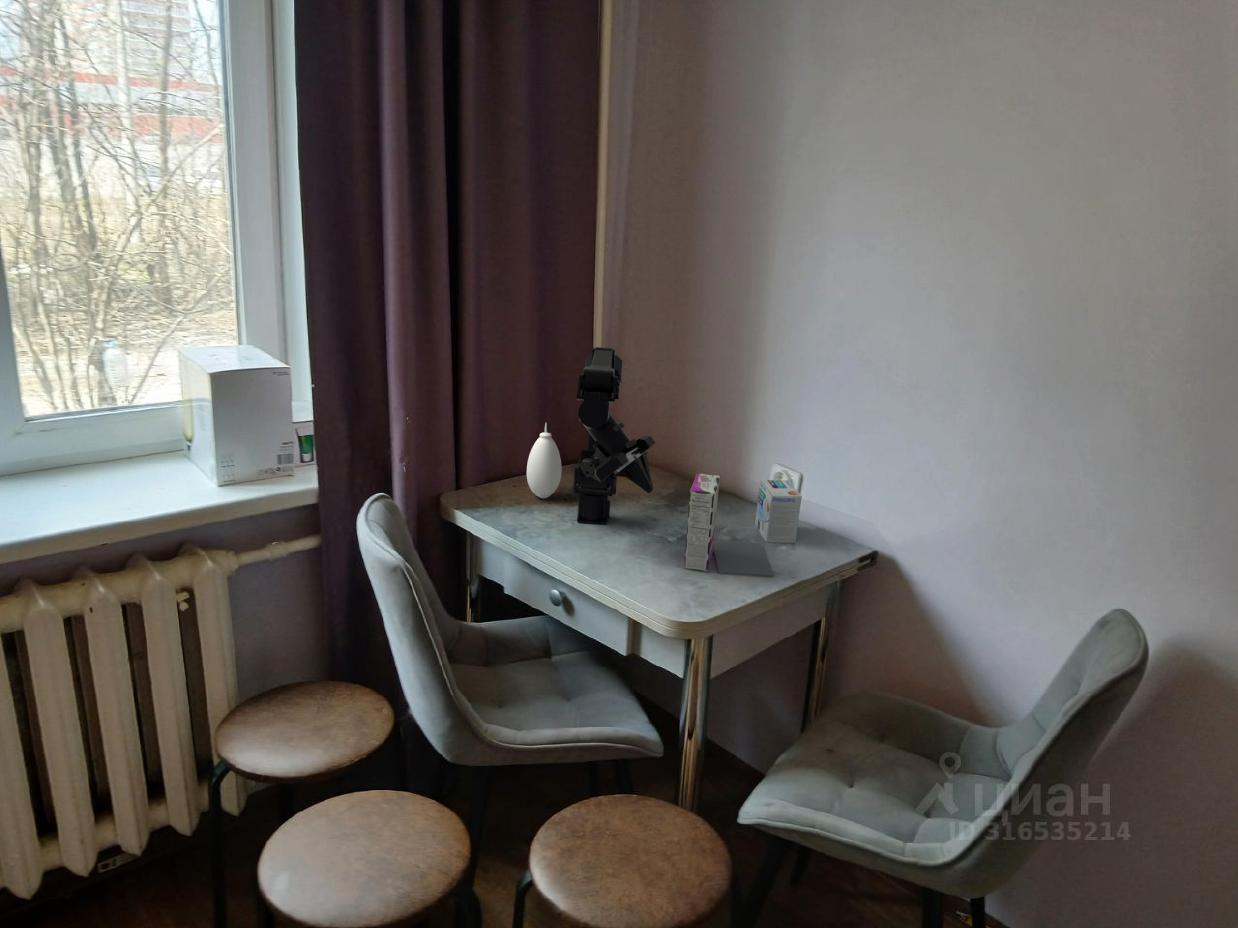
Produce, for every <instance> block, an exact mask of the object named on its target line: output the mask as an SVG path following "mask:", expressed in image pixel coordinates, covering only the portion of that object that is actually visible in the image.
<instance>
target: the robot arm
mask: <svg viewBox="0 0 1238 928" xmlns="http://www.w3.org/2000/svg"><path fill="white" fill-rule="evenodd" d="M623 363H624V362H623V360H622V359H621V358H620V357H619V356H618V355H617V354H616V349H613V347H602V346H596V347H593V348H592V353H591V354H590V355H588V356H587V357H586V359H585V365H584V366H585V367H583V370H582V373H579V376H578V383H577V391H576V396H575V397H576V400H577V401H583V402H581V404H580V405H579V408H578V411H577V412H578V413H577V414H578V420H579V421H580V423H582V425H583V426H584V428H585V429H586V431H588V439H587V441H588V442H587V448H586V449H582V450H581V452H580V454H579V455H580V456H579V457H578V458H579V459H578V466H575V467H574V476H573V477H574V478H573V479H574V480H573V495H577V494H578V509H577V516H576V517H577V518H576V522H577V523H585V524H599V525H607V524H608V520H609V519H610V513H611V512H610V511H611V510H610V509H611V498H612V497H613V496H614V495H616V494H617V485H618V484H617V483H618V480H617V478H618V477H621V478H627V480H629V481H630V482H632V483H634V484H635V485H636V486H638V487H640V488H641V489H642V490H643V491H645V492H646V493H647V494H649V493H652V492H653V490H654V486H653V481H652V476H651V473H650V467H649V466H650V465H649V460H648V455H649V454H648V450H649V449H650V448H651V447H653V446H654V445H655V444H656V441H655V440H654V439H653V438H652V436H651V435H647V434H644V435H642V436H641V437H639V438H638V439H637V440H636V439H635V438H633V439H631V438H629V436H628V435H627V433H626V432H625V431H624V430H623V429H624V428H625V425H624V423H623V422H620V423H618V421H617V420H616V419H615V417H614V416H613V415H612V413H611V412H610V407H611V403H615V404H616V400H619V398H620V388H621V384H622V380H623V365H624V364H623ZM615 471H617V472H615Z"/></svg>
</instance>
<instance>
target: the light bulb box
mask: <svg viewBox="0 0 1238 928" xmlns="http://www.w3.org/2000/svg"><path fill="white" fill-rule="evenodd" d="M758 491H759V492H758V497H757V498H758V499H757V504H756V505H757V507H756V515H755V520H754V524H755V527H756V528H757V530H758V532H759V533H760V535H761V536H762V538H763V540H764V542H765V543H773V544H774V543H775V544H778V543H781V544H796V539H797V532H798V527H799V526H798V525H799V518H800V511H801V510H800V509H801V503H802V498H803V497H802V495H801V493H800V492H799V491H798V490H797V489H796V488H795V485H793V484H792V482H790V480H788V479H787V480H785V479H784V480H782V479H774V480H773V479H760V480H759V490H758Z"/></svg>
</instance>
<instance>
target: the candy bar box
mask: <svg viewBox="0 0 1238 928" xmlns="http://www.w3.org/2000/svg"><path fill="white" fill-rule="evenodd" d="M720 477H721V476H720V475H717V474H716V475H715V474H709V473H708V474H707V473H702V472H701V473H700V472H699V473H696V475H695V478H694V481H693V483H692V485H691V488H690V491H689V503H688V504H689V505H688V513H687V526H686V527H687V528H686V538H685V539H686V540H685V541H686V542H685V549H684V552H685V554H684V564H683V568H684V569H685V570H690V571H700V572H708V571H709V567H710V563H711V560H712V556H713V554H714V551H713V546H714V540H715V535H716V534H715V533H716V524H717V513H718V512H717V511H718V500H719V499H718V498H719V490H720Z"/></svg>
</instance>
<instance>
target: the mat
mask: <svg viewBox="0 0 1238 928" xmlns="http://www.w3.org/2000/svg"><path fill="white" fill-rule="evenodd" d="M713 555H714V559H715V563H716V564H715V565H716V569H717V572H718V574H719V575H734V576H735V575H737V576H749V575H755V576H754V577H765V576H767V578H768V577H769V578H772V577H774V574H773V571H772V569H771V566H770V563H769V559H768V558H767V555H766V552H765V549H764V545H763V544H762V542H751V541H734V540H733V541H732V540H719V539H718V540H717V539H714V546H713Z"/></svg>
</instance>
